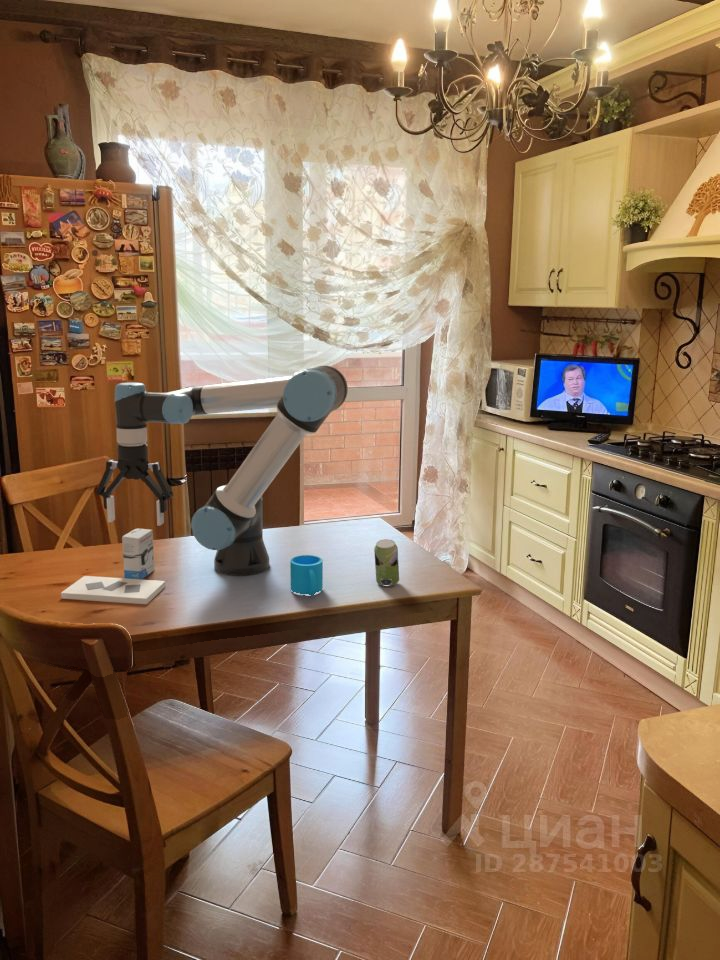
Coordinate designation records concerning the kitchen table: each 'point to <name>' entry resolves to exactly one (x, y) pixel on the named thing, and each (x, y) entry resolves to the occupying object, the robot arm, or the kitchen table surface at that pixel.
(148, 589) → the board
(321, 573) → the mug
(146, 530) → the ink box
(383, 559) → the beverage can
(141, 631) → the kitchen table surface
